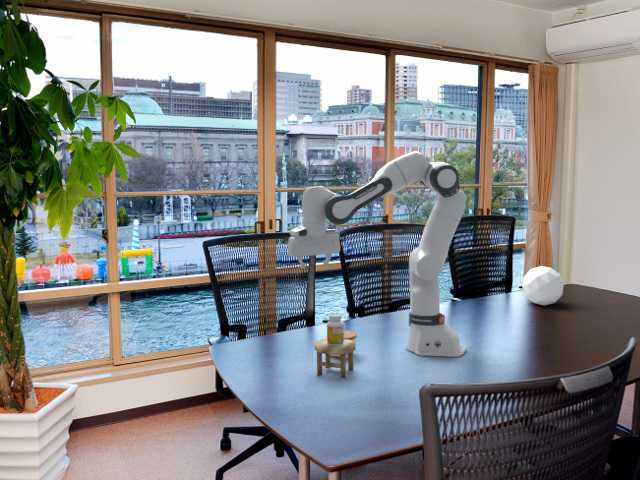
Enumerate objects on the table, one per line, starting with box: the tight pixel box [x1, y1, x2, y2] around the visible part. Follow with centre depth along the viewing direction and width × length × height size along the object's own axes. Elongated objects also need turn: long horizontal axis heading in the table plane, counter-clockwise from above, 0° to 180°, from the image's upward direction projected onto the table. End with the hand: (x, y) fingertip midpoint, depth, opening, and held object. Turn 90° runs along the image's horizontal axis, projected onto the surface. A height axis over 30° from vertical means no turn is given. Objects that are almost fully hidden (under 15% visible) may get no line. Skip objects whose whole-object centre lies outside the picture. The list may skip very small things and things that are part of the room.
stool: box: [314, 338, 357, 380], centre depth 209 cm, size 14×14×10 cm
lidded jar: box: [344, 329, 358, 356], centre depth 229 cm, size 11×11×9 cm
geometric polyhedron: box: [522, 265, 565, 307], centre depth 303 cm, size 19×20×20 cm
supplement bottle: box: [326, 313, 345, 346], centre depth 208 cm, size 6×6×10 cm
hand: (314, 266), depth 227 cm, fingers open, 8 cm apart
